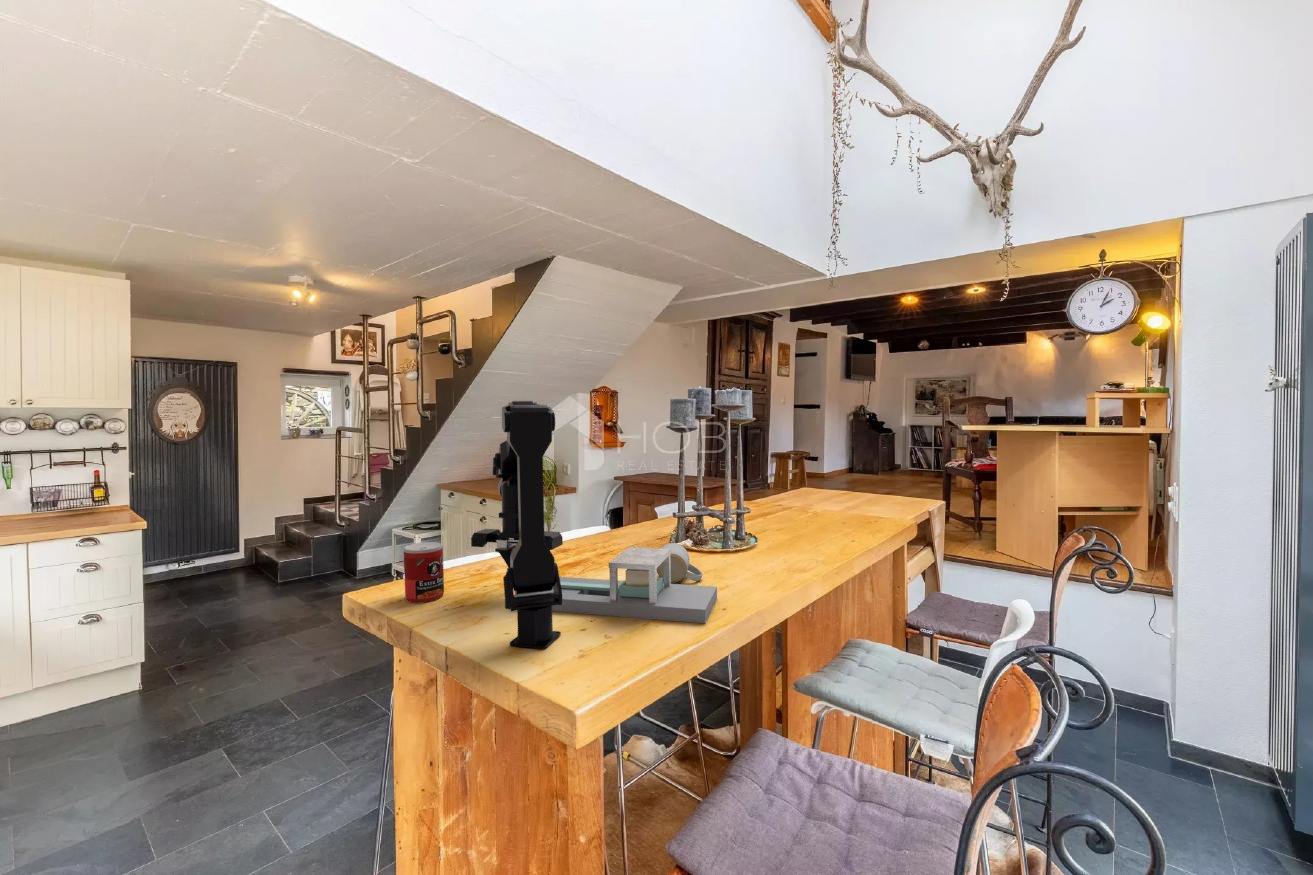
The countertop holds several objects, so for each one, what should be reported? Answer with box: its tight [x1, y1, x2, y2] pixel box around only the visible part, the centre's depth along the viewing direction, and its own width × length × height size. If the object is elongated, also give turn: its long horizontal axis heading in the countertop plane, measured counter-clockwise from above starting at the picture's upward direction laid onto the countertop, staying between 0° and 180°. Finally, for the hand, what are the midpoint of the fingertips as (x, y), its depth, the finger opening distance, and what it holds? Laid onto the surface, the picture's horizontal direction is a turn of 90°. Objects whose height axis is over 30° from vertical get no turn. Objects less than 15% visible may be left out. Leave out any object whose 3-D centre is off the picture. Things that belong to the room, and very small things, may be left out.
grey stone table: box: [608, 546, 672, 604], centre depth 111 cm, size 13×9×8 cm
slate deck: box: [514, 576, 718, 624], centre depth 112 cm, size 14×38×2 cm, turn 75°
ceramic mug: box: [657, 542, 703, 584], centre depth 128 cm, size 11×8×8 cm
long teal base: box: [560, 577, 664, 598], centre depth 113 cm, size 7×26×4 cm, turn 75°
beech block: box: [625, 569, 649, 587], centre depth 111 cm, size 5×5×5 cm
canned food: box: [403, 541, 445, 603], centre depth 118 cm, size 8×8×11 cm
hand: (517, 579), depth 118 cm, fingers closed
